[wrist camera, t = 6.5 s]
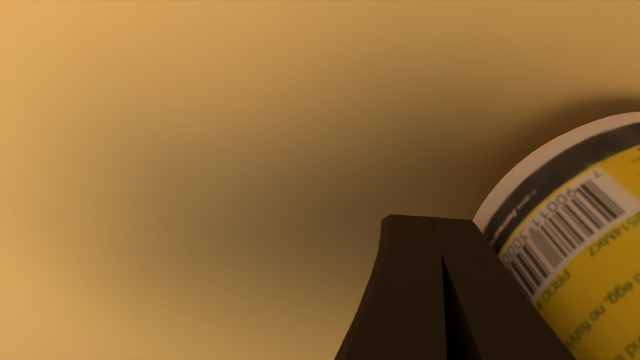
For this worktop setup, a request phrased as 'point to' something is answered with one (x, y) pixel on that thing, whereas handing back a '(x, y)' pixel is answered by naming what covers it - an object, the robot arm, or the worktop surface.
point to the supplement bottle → (576, 235)
